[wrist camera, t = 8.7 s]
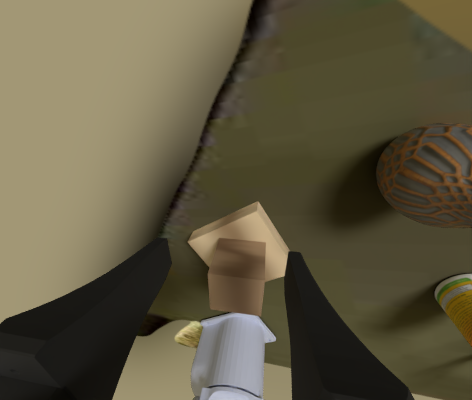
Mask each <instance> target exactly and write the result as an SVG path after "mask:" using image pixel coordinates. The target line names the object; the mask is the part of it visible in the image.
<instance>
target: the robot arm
mask: <svg viewBox="0 0 472 400" xmlns="http://www.w3.org/2000/svg"><path fill="white" fill-rule="evenodd" d="M171 264H172V262H171V257H170V252H169V246H168V241H167V238H158V237H157V238H156V239H155V240H153V241H152V242H151V243H149V244H148V245H146V246H145V247H144V248H142V249H141V250H140V251H138V252H137V253H135V254H134V255H133V256H131V257H130V258H128V259H127V260H125V261H124V262H122V263H121V264H119V265H118V266H116V267H115V268H114V269H112V270H111V271H109V272H107V273H106V274H104V275H102V276H101V277H99V278H97V279H95V280H94V281H92V282H90V283H88V284H86V285H84V286H82V287H80V288H78V289H76V290H74V291H72V292H70V293H68V294H66V295H64V296H62V297H60V298H58V299H55V300H53V301H51V302H48V303H46V304H44V305H41V306H39V307H36V308H34V309H31V310H28V311H26V312H23V313H20V314H18V315H15V316H12V317H9V318H7V319H5V320H4V321H3V322H2V323H1V324H0V400H112V398H113V395H114V393H115V390H116V387H117V384H118V381H119V378H120V376H121V373H122V370H123V367H124V365H125V363H126V360H127V357H128V355H129V352H130V350H131V348H132V345H133V343H134V340H135V338H136V336H137V333H138V331H139V329H140V326H141V324H142V322H143V320H144V318H145V316H146V314H147V312H148V310H149V308H150V307H151V305H152V303H153V301H154V299H155V298H156V296H157V294H158V292H159V290H160V288H161V287H162V285H163V283H164V281H165V279H166V277H167V274H168V272H169V269H170V267H171ZM284 288H285V302H286V310H287V318H288V326H289V334H290V346H291V373H292V374H291V375H292V400H414V398H413V396H412V394H411V392H410V390H409V389H408V387H407V386H406V385H405V384H404V383H402V382H401V381H400V380H399V379H398V378H397V377H396V376H395V375H394V374H393V373H392V372H391V371H389V370H388V369H387V368H386V367H385V366H384V365H383V364H382V363H381V362H380V361H379V360H378V359H377V358H376V357H375V356H374V355H373V354H372V353H371V352H370V351H369V350H368V349H367V348H366V346H365V345H364V344H363V343H362V342H361V341H360V340H359V339H358V338H357V337H356V335H355V334H354V333H353V332H352V331H351V330H350V329H349V327H348V326H347V325H346V324H345V323H344V321H343V320H342V319H341V318H340V316H339V315H338V314H337V312H336V311H335V310H334V309H333V307H332V306H331V304H330V303H329V302H328V300H327V299H326V297H325V296H324V294H323V293H322V291H321V290H320V288H319V286H318V285H317V283H316V281H315V280H314V278H313V276H312V274H311V273H310V271H309V269H308V267H307V265H306V263H305V261H304V259H303V257H302V254H301V253H300V252H292V251H288V258H287V264H286V270H285V276H284ZM200 324H201V325H202V326H203V330H202V333H201V337H200V340H199V344H198V347H197V351H196V355H195V358H194V361H193V365H192V370H191V386H192V390H193V393H194V395H195V397H194V398H193V400H264V399H263V378H264V377H263V376H264V347H265V343H268V342H273V341H275V340H276V337H275V336H274V335H273V333H272V332H271V331H270V330H269V329H268V328H267V326H266V325H265V324H264V323H263V322H262V320H261V319H260V318H259V317H258V316H255V315H248V314H241V313H233V312H232V313H228V314H224V315H220V316H217V317H213V318H209V319H205V320H202V321H201V323H200Z"/></svg>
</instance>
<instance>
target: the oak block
mask: <svg viewBox="0 0 472 400" xmlns="http://www.w3.org/2000/svg"><path fill="white" fill-rule="evenodd" d="M219 238H227V239H237V240H247V241H257V242H266V256H265V282H266V281H269V280H272V279H276V278H279V277H282V276H285V270H286V264H287V258H288V251H290V250H289V249H288V247H287V246H286V244H285V242H284V241H283V239H282V238H281V236H280V235H279V233H278V232H277V230H276V228H275V227H274V225H273V224H272V222H271V221H270V219H269V217H268V216H267V214H266V213H265V211H264V210H263V208H262V207H261V205H260V203H259V202H258V201H257V202H255V203H253V204H251V205H249V206H247V207H244V208H242V209H240V210H238V211H236V212H234V213H232V214H229V215H227V216H225V217H223V218H221V219H219V220H217V221H215V222H212V223H210V224H208V225H206V226H204V227H202V228H200V229H197V230H195V231H193V233H192V235H191V237H190V238H189V240H188V243H189V244H190V246H191V247H192V248H193V249H194V250H195V251H196V253H197V254H198V255H199V256H200V257H201V258H202V260H203V261H204V262H205V263H206V264H207V265H208V267H209V268H210V265H211V262H212V259H213V256H214V253H215V250H216V247H217V243H218V240H219Z"/></svg>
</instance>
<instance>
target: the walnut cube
mask: <svg viewBox="0 0 472 400" xmlns="http://www.w3.org/2000/svg"><path fill="white" fill-rule="evenodd" d="M265 256H266V242H257V241H247V240H237V239H227V238H219V240H218V243H217V247H216V250H215V253H214V256H213V259H212V262H211V265H210V268H209V271H208V285H209V298H210V309H212V310H219V311H226V312H233V313H241V314H248V315H255V316H261V311H262V302H263V293H264V283H265Z"/></svg>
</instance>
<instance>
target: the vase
mask: <svg viewBox="0 0 472 400" xmlns="http://www.w3.org/2000/svg"><path fill="white" fill-rule="evenodd" d="M376 179H377V184H378V187H379V190H380V192H381V194H382V195H383V197H384V198H385V199H386V201H387V202H388V203H389V204H390V205H391V206H392V207H393V208H394V209H395V210H397V211H398V212H399V213H401V214H402V215H404V216H406V217H408V218H410V219H412V220H414V221H417V222H419V223H422V224H426V225H429V226H434V227H442V228H472V126H471V125H465V124H458V123H437V124H430V125H426V126H421V127H418V128H415V129H413V130H410V131H408V132H406V133H404V134H402V135H400V136H399V137H397V138H396V139H395V140H393V141H392V142H391V143H390V144H389V145H388V146H387V147H386V149H385V150H384V151H383V153H382V154H381V156H380V158H379V161H378V163H377V168H376Z"/></svg>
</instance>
